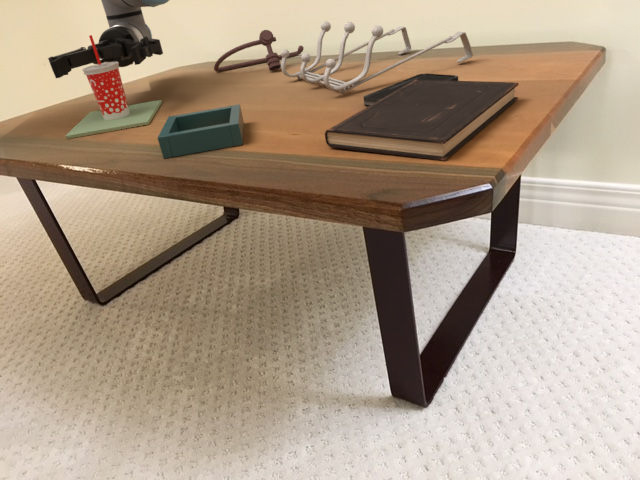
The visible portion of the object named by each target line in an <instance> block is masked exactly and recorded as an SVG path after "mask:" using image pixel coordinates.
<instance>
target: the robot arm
mask: <svg viewBox="0 0 640 480" xmlns="http://www.w3.org/2000/svg"><path fill="white" fill-rule="evenodd" d="M100 1H101V4H102V7H103V10H104V13H105V17H106V20H107V24H108V27H109V28H107V29H106V30H104V31H102V33H101V35H100V36H99V39H98V43H95V46H96V49H97V52H98V55H99V59H100V62H101V63H107V62H118V63H119V68H125V67H129V66H132V65H135V66H137V65H140V64H142V62H144V61H145V60H146V59H147V58H152V57H153V56H154V55H157V56H162V55H164V51H163V47H162V44H161V40H160V39H158V38H153V34H152V30H151V29H150V27H149V26H148V25H147V23H146V21H145V18H144V14H143V10H142V8H147V7H148V8H155V7H158V6H161V5H162V6H163V5H164V4H167V3H168V2H170V0H100ZM47 59H48V62H49V65H50V67H51V70H52V72H53V75H54V77H55V79H60V78H62V77H64V76H67V75H69V74H70V72H72V70H73V69H78V68H80V67H83V66H87V65H92V64H93V65H96V64H98V61H97V58H96V55H95V52H94V49H93V46H92V44H91V45H88V46H87V48H86V47H85V46H81V47H80V48H77V49H73V50H71V51H67V52H65V53H61V54H57V55H54V56H49V57H48V58H47Z"/></svg>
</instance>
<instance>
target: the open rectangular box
mask: <svg viewBox="0 0 640 480" xmlns="http://www.w3.org/2000/svg"><path fill="white" fill-rule="evenodd" d="M244 121H245V120H244V116H243V112H242V108H241V104H240V103H238V104H232V105H227V106H221V107H216V108H210V109H204V110H199V111H193V112H188V113H181V114H177V115H169V116H167V119H166V121H165V123H164V125H163V127H161V130H160V132H159V134H158V136H157V142H158V144H159V145H158V146H159V147H160V151H161V154H162V158H163V159H164V160H165V159H170V158H171V159H172V158H175V157H182V156H187V155H192V154H198V153H204V152H209V151H215V150H220V149H227V148H232V147H237V146H243V145H244V135H245V134H244V133H245V122H244Z"/></svg>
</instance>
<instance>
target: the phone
mask: <svg viewBox="0 0 640 480" xmlns="http://www.w3.org/2000/svg"><path fill="white" fill-rule="evenodd" d="M414 80H445V81H459V76H458V75H457V74H456V75H454V74H439V73H419V74H416V75H413V76H411V77H408V78H406V79H404V80H401V81H398V82H396V83H394V84H391V85H388V86H386V87H383V88H381V89H378V90H376V91H373V92H371V93H368V94H365V95H363V105H364V106H367V107H368V106H370V105H372V104H374V103H375V102H377V101H379V100H381V99H382V98H384V97H386V96H388V95H389V94H391V93H393V92H395V91H396V90H398V89H400V88H402V87H403V86H405V85H407V84H409V83H410V82H412V81H414Z"/></svg>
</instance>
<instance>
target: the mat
mask: <svg viewBox="0 0 640 480" xmlns="http://www.w3.org/2000/svg"><path fill="white" fill-rule="evenodd" d="M162 104H163V100H162V99H156V100H152V101H146V102H140V103H134V104H128V108H129V112H130V114H129V115H127V116H125V117H122V118H119V119H114V120H105V119H104V118H103V115H102V113H101V110H100V109H98V110H93V111H89V112H88V114H87V115H85V116H84V117H83V118H82V119H81V120H80V121H79V122H78V123H77V124H76V125H74V127H73V128H72V129H71V130H70V131H69V132H67V133H66V134H65V136H64V137H65V139H66V140H70V139H75V138H81V137H86V136H92V135H93V136H94V135H99V134H103V133H109V132H115V131H121V129H122V130H126V128H127V129H132V127H133V128H138V127H137V126H139V127H144V126H143V125H145V126H149V125H150V124H151V121H153V119H154V117H155V115H156V113H157V112H158V110H159V108H160V107H161V105H162Z"/></svg>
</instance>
